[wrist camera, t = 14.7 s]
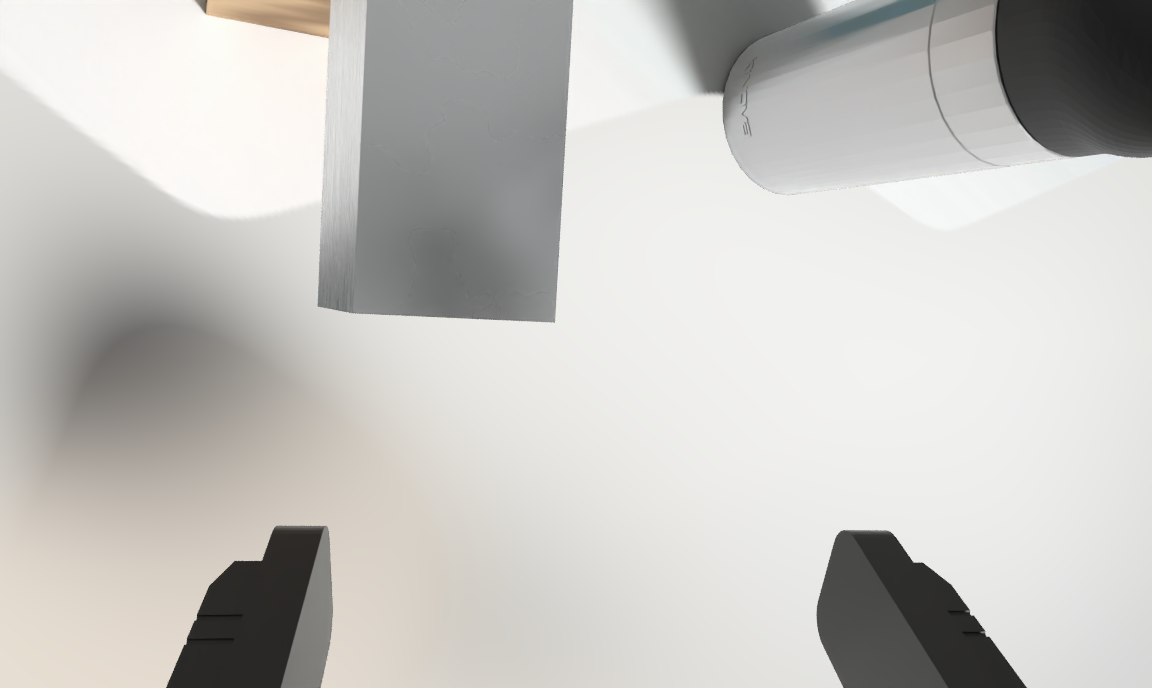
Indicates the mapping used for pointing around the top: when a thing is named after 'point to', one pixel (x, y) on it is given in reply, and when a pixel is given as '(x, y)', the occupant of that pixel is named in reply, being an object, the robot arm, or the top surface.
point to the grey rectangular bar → (444, 157)
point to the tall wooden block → (277, 14)
